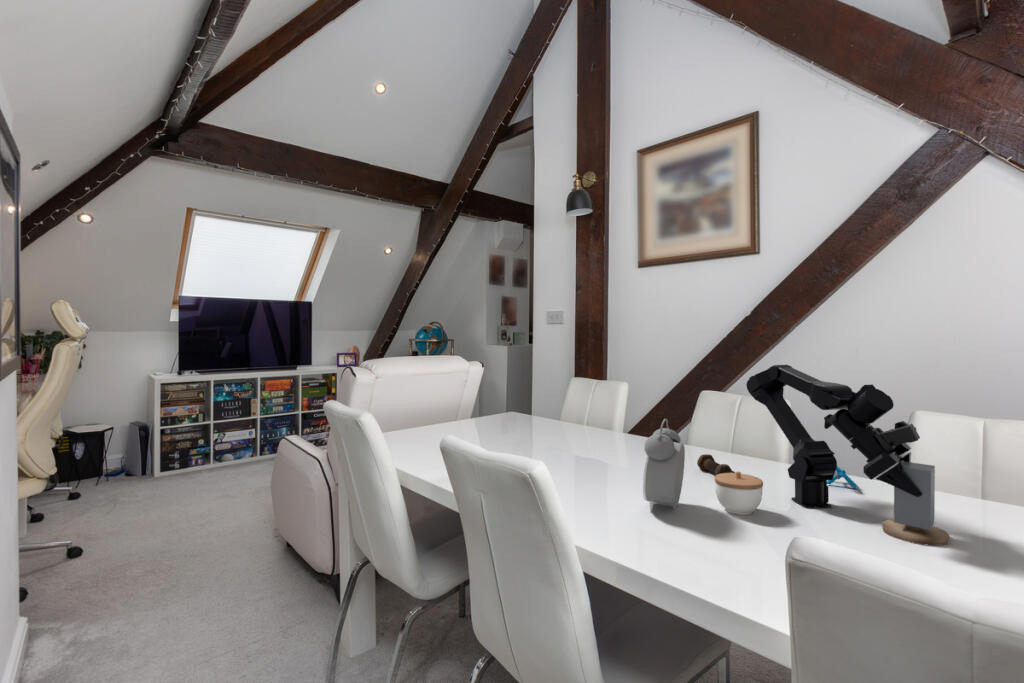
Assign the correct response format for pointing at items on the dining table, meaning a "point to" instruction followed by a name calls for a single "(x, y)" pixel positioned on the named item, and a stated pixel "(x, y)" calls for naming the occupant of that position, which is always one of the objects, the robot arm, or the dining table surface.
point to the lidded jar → (738, 492)
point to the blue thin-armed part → (840, 474)
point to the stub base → (916, 533)
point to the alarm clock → (663, 467)
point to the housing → (913, 507)
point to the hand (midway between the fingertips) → (922, 492)
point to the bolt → (712, 465)
